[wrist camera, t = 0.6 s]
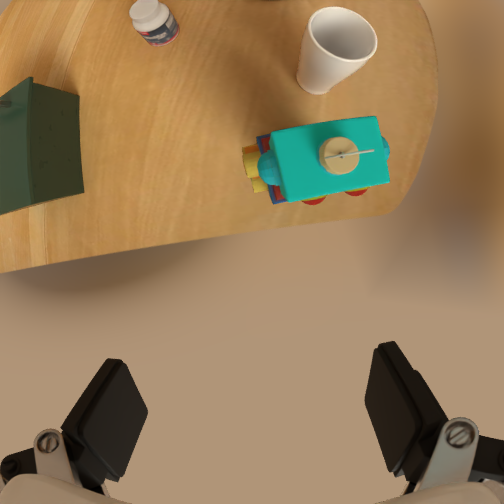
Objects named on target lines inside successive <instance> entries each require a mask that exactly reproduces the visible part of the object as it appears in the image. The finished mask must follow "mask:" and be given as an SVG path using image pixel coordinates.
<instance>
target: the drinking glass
mask: <svg viewBox="0 0 504 504" xmlns="http://www.w3.org/2000/svg"><path fill="white" fill-rule="evenodd" d="M376 49H377V37H376V34H375V31H374V29H373V28H372V26H371V25H370V24H369V23H368V21H367V20H365V19H364V18H363V17H362V16H360V15H359V14H357V13H356V12H354V11H351V10H349V9H346V8H342V7H333V6H332V7H324V8H321V9H319V10H317V11H315V12H314V13H313V14H312V15H311V17H310V18H309V21H308V23H307V25H306V27H305V30H304V33H303V36H302V41H301V47H300V56H299V65H298V69H297V73H296V78H297V81H298V84H299V85H300V86H301V88H302V89H304V90H305V91H306V92H308V93H311V94H315V95H321V94H325V93H327V92H329V91H330V90H331V89H332V88H333V87H334V86H336V85H337V84H339V83H340V82H342V81H343V80H345V79H346V78H348V77H349V76H351V75H352V74H354V73H355V72H356V71H358V70H359V69H360V68H361V67H362V66H363V65H364V64H365V63H366V62H367V61H368V60H369V59H370V58H371V57H372V56H373V54H374V53H375V51H376Z"/></svg>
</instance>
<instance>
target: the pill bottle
mask: <svg viewBox="0 0 504 504" xmlns="http://www.w3.org/2000/svg"><path fill="white" fill-rule="evenodd" d="M129 15H130V17H131V18H132V19H133V20H132V24H133V27H134V28H135V29H136V30H137V32H139V33H140V34H141V36H142V37H143V38H144V39H145V40H146V41H147V42H148V43H149V44H151V45H153V46H164V45H166V44H169V43H170V42H172V41H173V40H174V39H175V38H176V37H177V35H178V33H179V25H178V23H177V21H176V20H175V18H174V16H173V15H172V13H171V11H170V10H169V8H168V7H167V6H166V5H165V4H163V3H160V2H159V1H158V0H138V1H136V2H135V3H134V4H133V5H132V7H131V8H130V11H129Z"/></svg>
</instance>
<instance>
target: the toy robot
mask: <svg viewBox="0 0 504 504" xmlns="http://www.w3.org/2000/svg"><path fill="white" fill-rule="evenodd" d="M242 152H243V163H244V168H245V171H246V174H247V176H248V178H251V182H252V185H253V189H254V192H255V193H256V192H260V191H265V190H269V194H270V198H271V200H272V203H273V204H277V203H282V202H286V201H287V202H294V201H299V200H300V201H302V202H304V203H306V204H309V205H316V204H319V203H320V202H322V201H323V200H324V199H325V197H326V196H327V195H328V194H332V193H337V192H342V191H344V192H346V193H347V194H349V195H351V196H359V195H362V194H363V193H365V192H366V190H367V189H368V188H369V187H370V186H374V185H379V184H385V183H389V182H390V177H389V171H388V166H387V159H388V158H389V153H390V149H389V145H388V143H387V141H386V140H385V138H384V137H382V136H381V133H380V129H379V125H378V121H377V118H376V116H368V117H358V118H350V119H342V120H334V121H327V122H321V123H315V124H309V125H303V126H297V127H292V128H287V129H282V130H277V131H273V132H271V134H267V135H262V136H258V137H257V144H255V145H250V146H246V147H242Z"/></svg>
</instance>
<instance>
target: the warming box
mask: <svg viewBox="0 0 504 504" xmlns="http://www.w3.org/2000/svg"><path fill="white" fill-rule="evenodd" d="M30 151H31V170H32V182H33V191H34V199H35V204H33V205H30V206H26V207H23V208H20V209H17V210H21V209H24V208H28V207H32V206H35V205H39V204H42V203H46V202H49V201H53V200H57V199H61V198H65V197H69V196H73V195H77V194H81V193H84V186H83V176H82V166H81V152H80V131H79V96H78V95H75V94H72V93H68V92H65V91H62V90H58V89H55V88H51V87H48V86H44V85H40V84H36V83H33V86H32V97H31V115H30ZM17 210H14V211H17ZM10 212H13V211H10ZM10 212H7V213H10ZM7 213H4V214H7ZM2 215H3V214H2Z"/></svg>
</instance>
